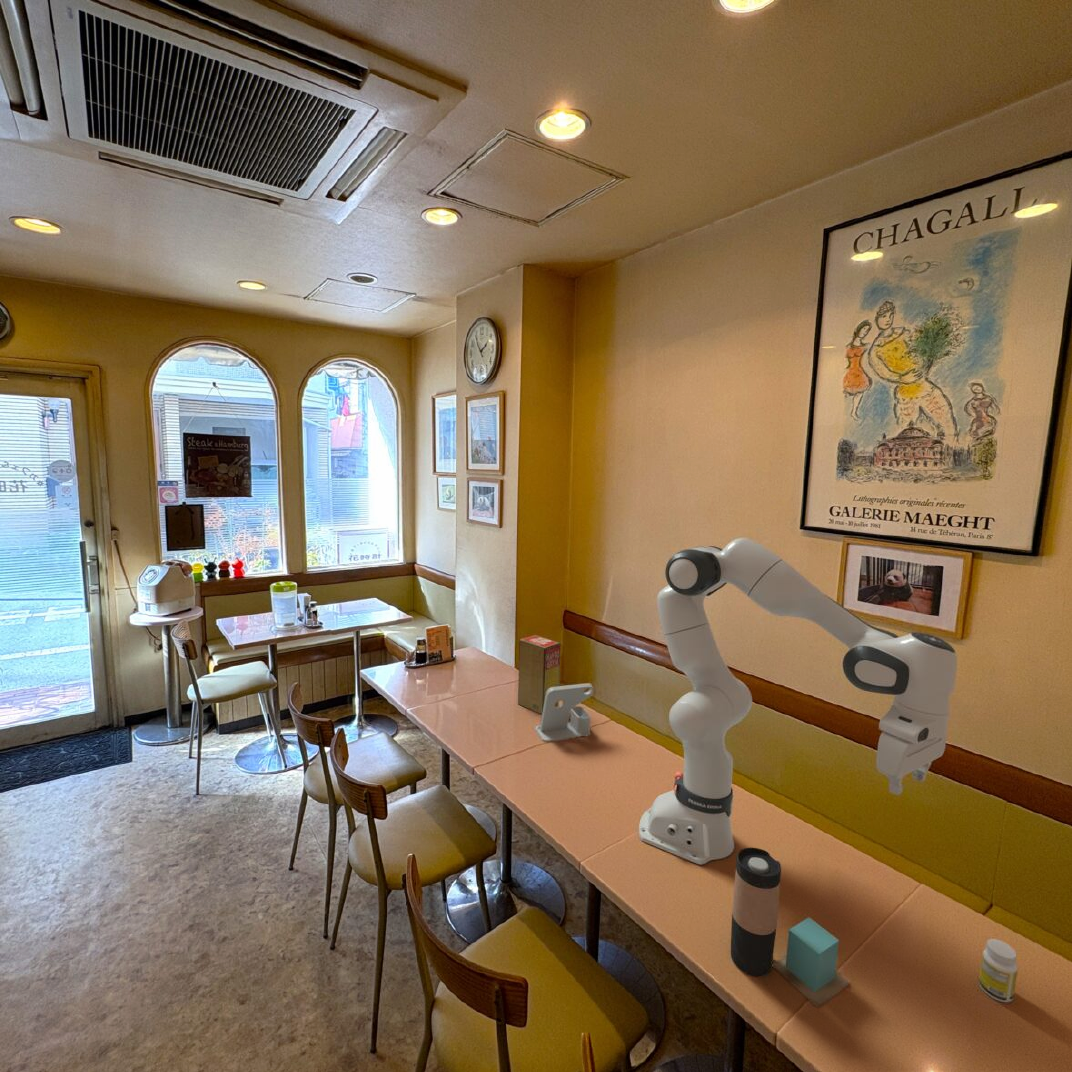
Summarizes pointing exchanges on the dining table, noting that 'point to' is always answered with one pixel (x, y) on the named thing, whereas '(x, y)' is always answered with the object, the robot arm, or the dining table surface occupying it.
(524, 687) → the food packaging
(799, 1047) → the dining table surface
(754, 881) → the travel mug
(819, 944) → the teal rectangular block
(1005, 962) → the supplement bottle
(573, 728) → the phone holder
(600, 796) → the dining table surface
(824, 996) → the flat square base
